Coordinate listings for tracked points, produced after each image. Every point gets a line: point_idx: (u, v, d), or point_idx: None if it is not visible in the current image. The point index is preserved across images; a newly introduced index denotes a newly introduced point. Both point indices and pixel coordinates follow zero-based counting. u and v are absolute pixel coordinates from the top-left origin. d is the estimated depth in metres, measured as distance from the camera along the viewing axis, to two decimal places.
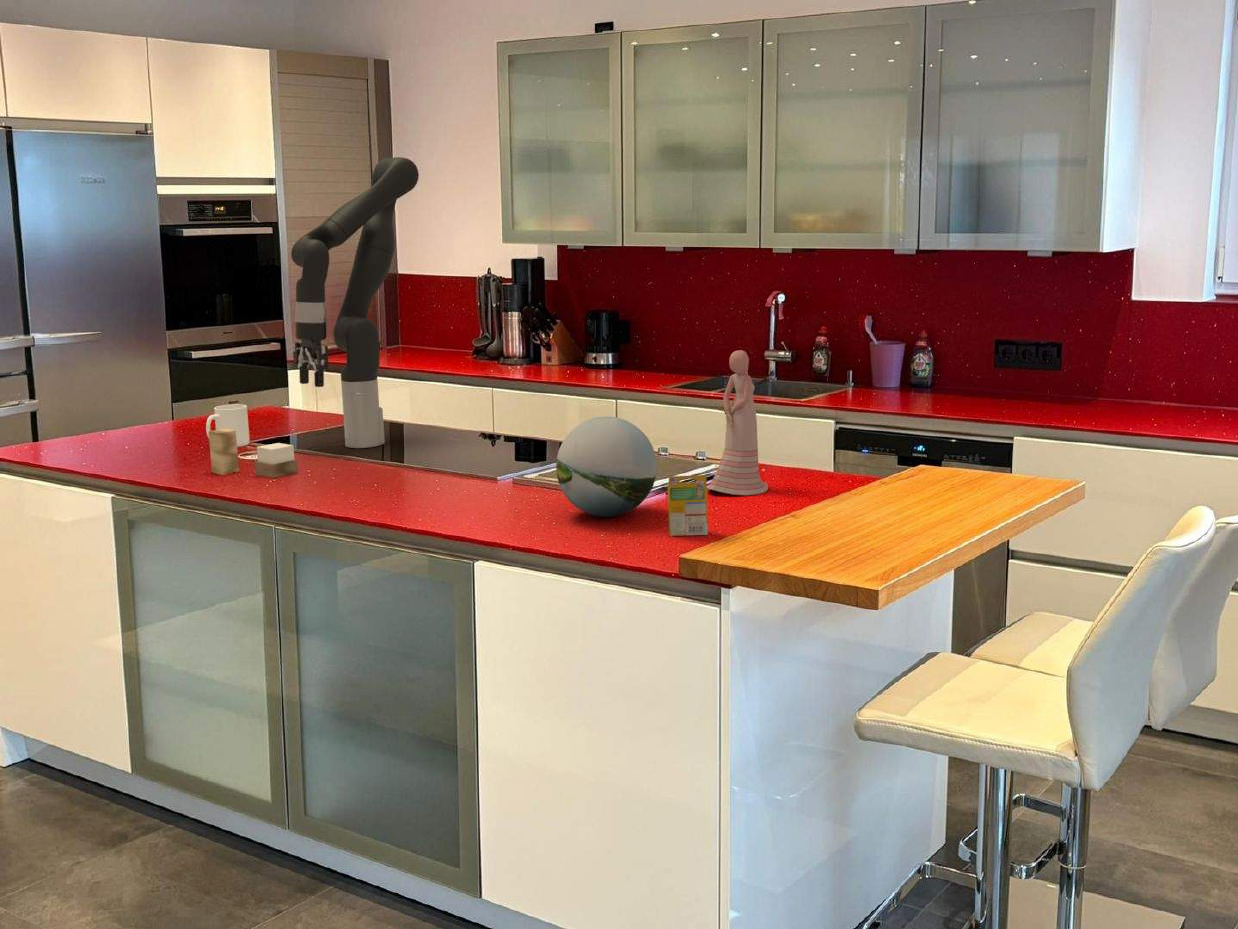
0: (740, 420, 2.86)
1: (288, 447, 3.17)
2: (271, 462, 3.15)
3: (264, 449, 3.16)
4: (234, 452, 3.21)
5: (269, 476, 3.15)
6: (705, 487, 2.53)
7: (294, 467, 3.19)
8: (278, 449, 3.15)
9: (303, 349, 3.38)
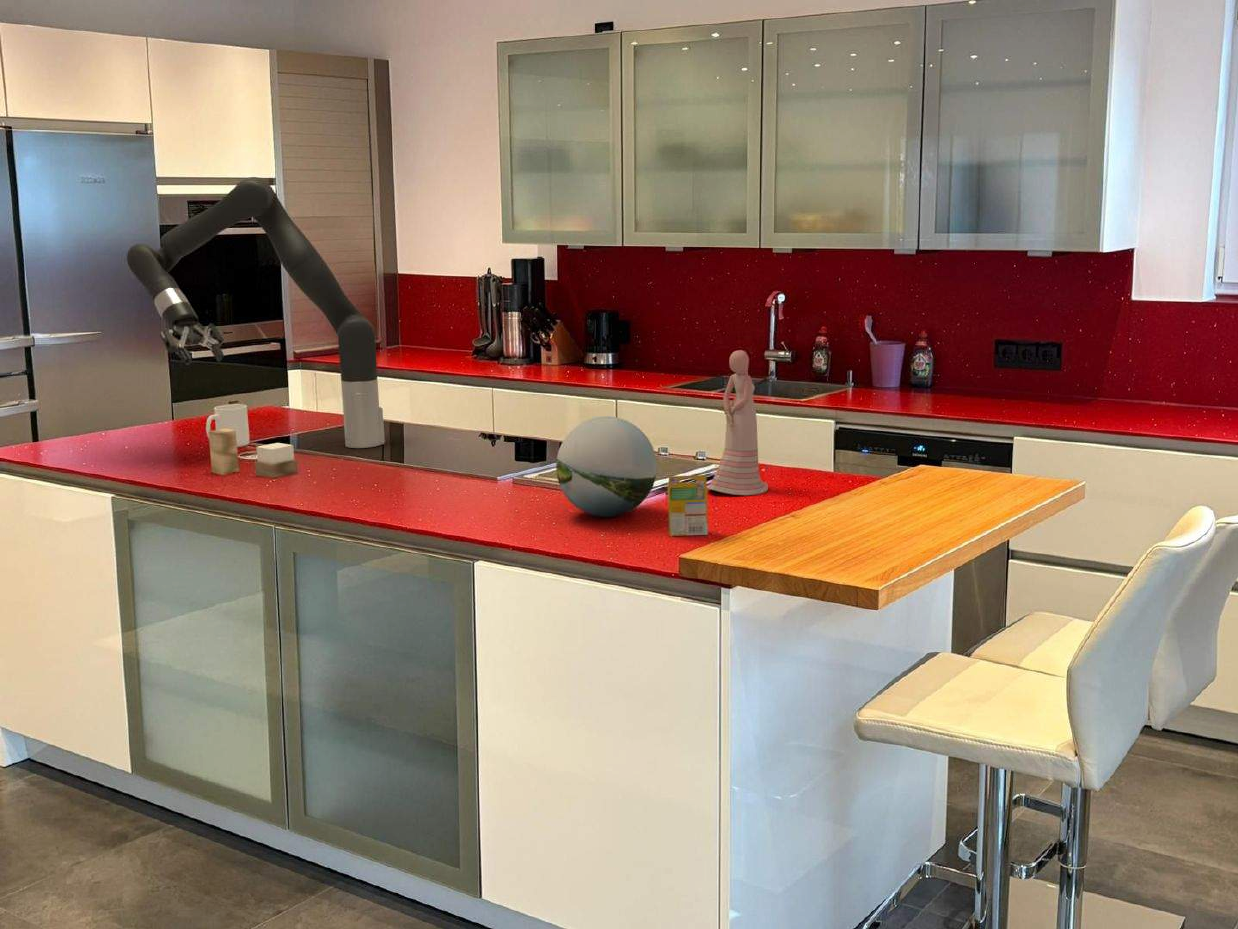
0: (740, 420, 2.86)
1: (288, 447, 3.17)
2: (271, 462, 3.15)
3: (264, 449, 3.16)
4: (234, 452, 3.21)
5: (269, 476, 3.15)
6: (705, 487, 2.53)
7: (294, 467, 3.19)
8: (278, 449, 3.15)
9: None
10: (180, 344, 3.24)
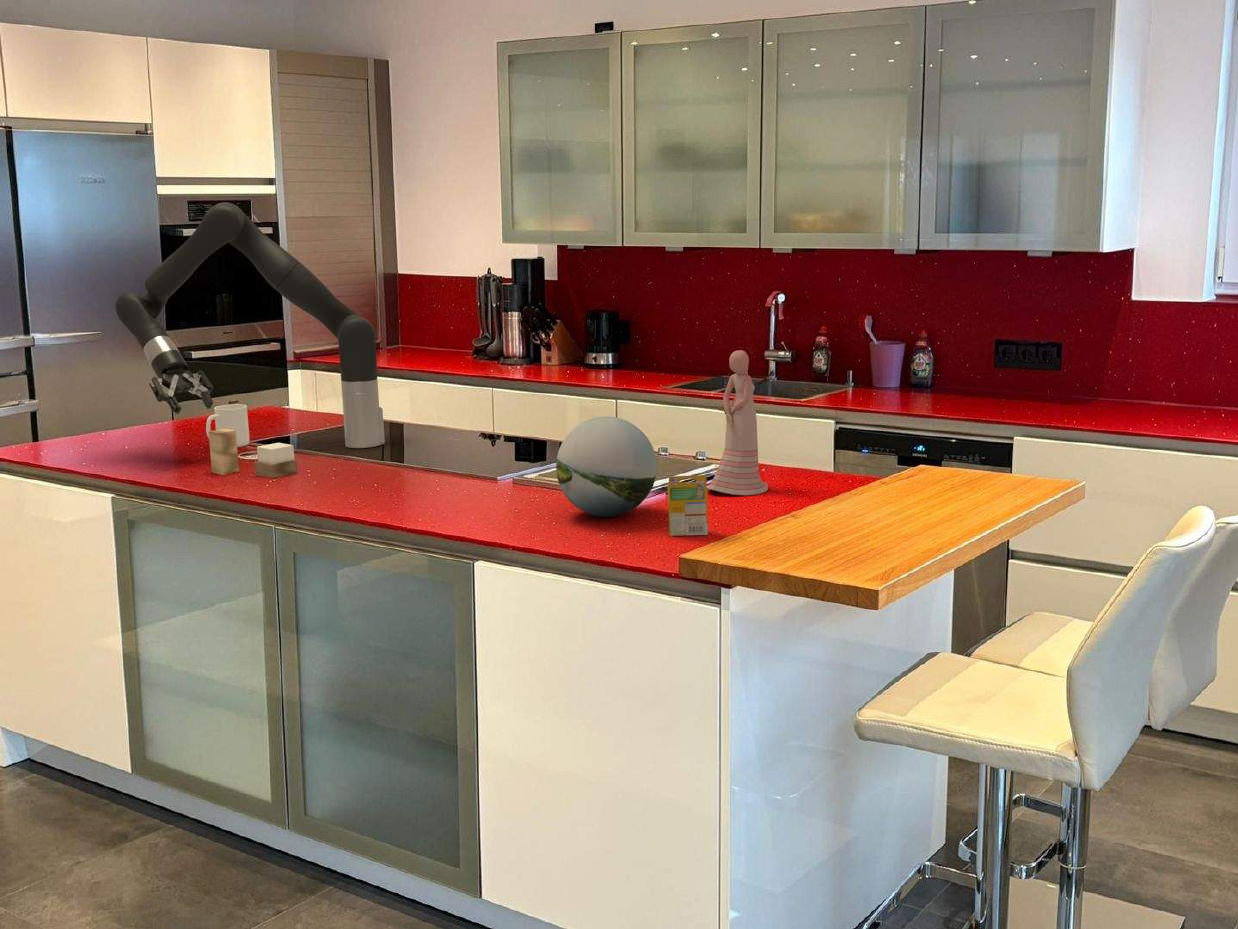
0: (740, 420, 2.86)
1: (288, 447, 3.17)
2: (271, 462, 3.15)
3: (264, 449, 3.16)
4: (234, 452, 3.21)
5: (269, 476, 3.15)
6: (705, 487, 2.53)
7: (294, 467, 3.19)
8: (278, 449, 3.15)
9: None
10: (169, 393, 3.24)
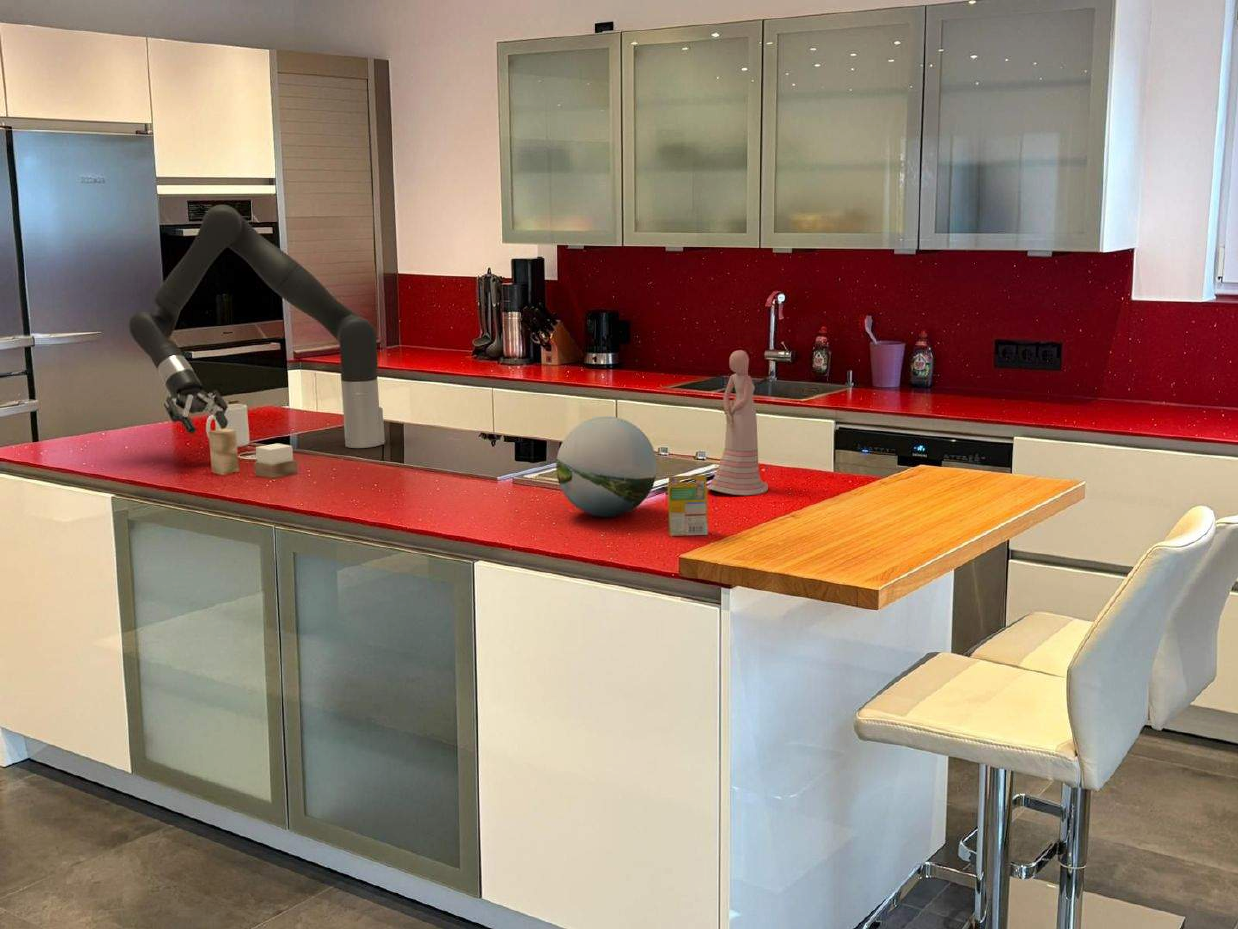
0: (740, 420, 2.86)
1: (287, 447, 3.17)
2: (269, 462, 3.15)
3: (263, 449, 3.16)
4: (234, 452, 3.21)
5: (268, 477, 3.15)
6: (705, 487, 2.53)
7: (294, 468, 3.18)
8: (276, 449, 3.15)
9: None
10: (184, 413, 3.22)
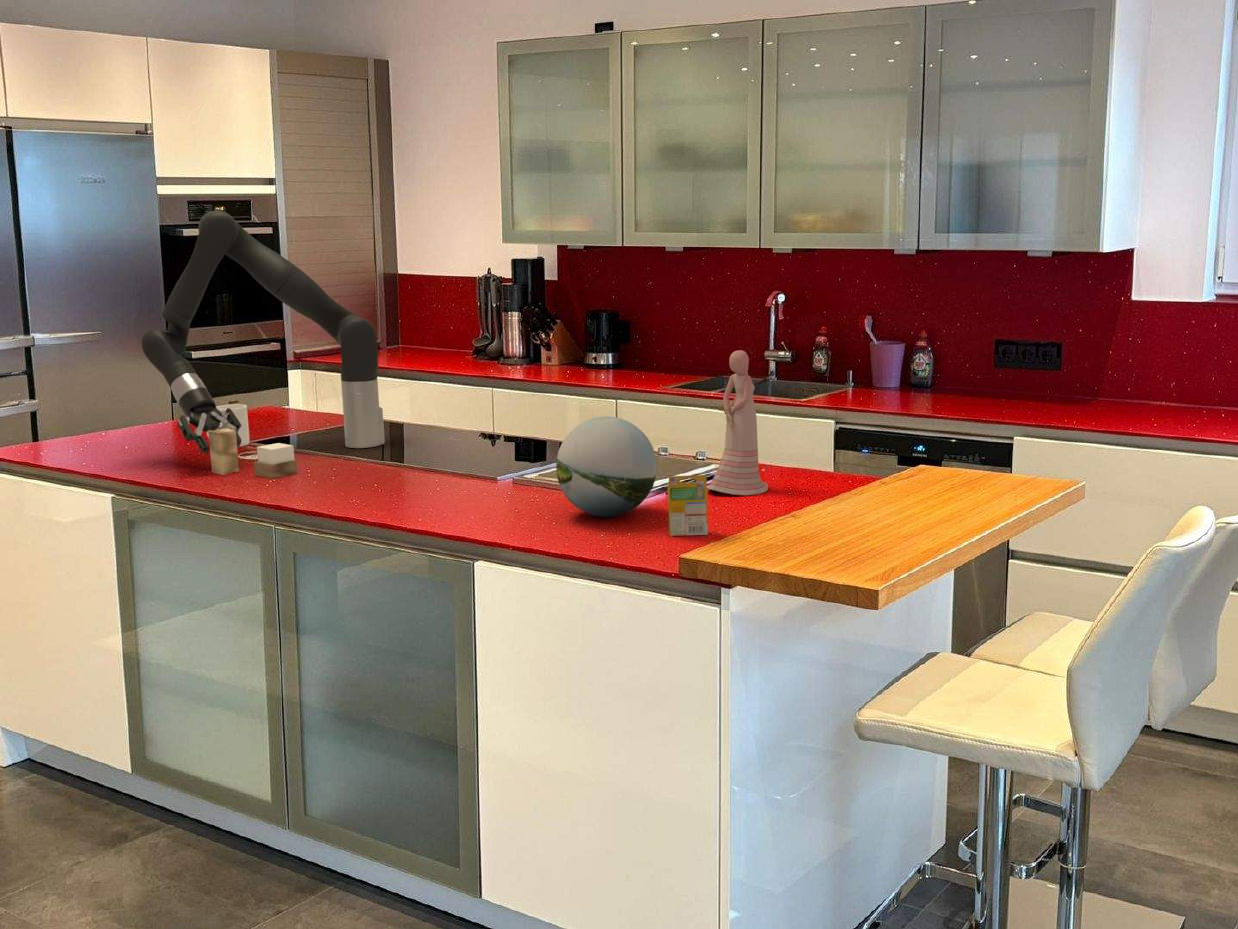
0: (740, 420, 2.86)
1: (288, 447, 3.17)
2: (271, 462, 3.15)
3: (264, 449, 3.16)
4: (234, 452, 3.21)
5: (268, 476, 3.15)
6: (705, 487, 2.53)
7: (293, 467, 3.18)
8: (278, 449, 3.15)
9: None
10: (197, 432, 3.19)
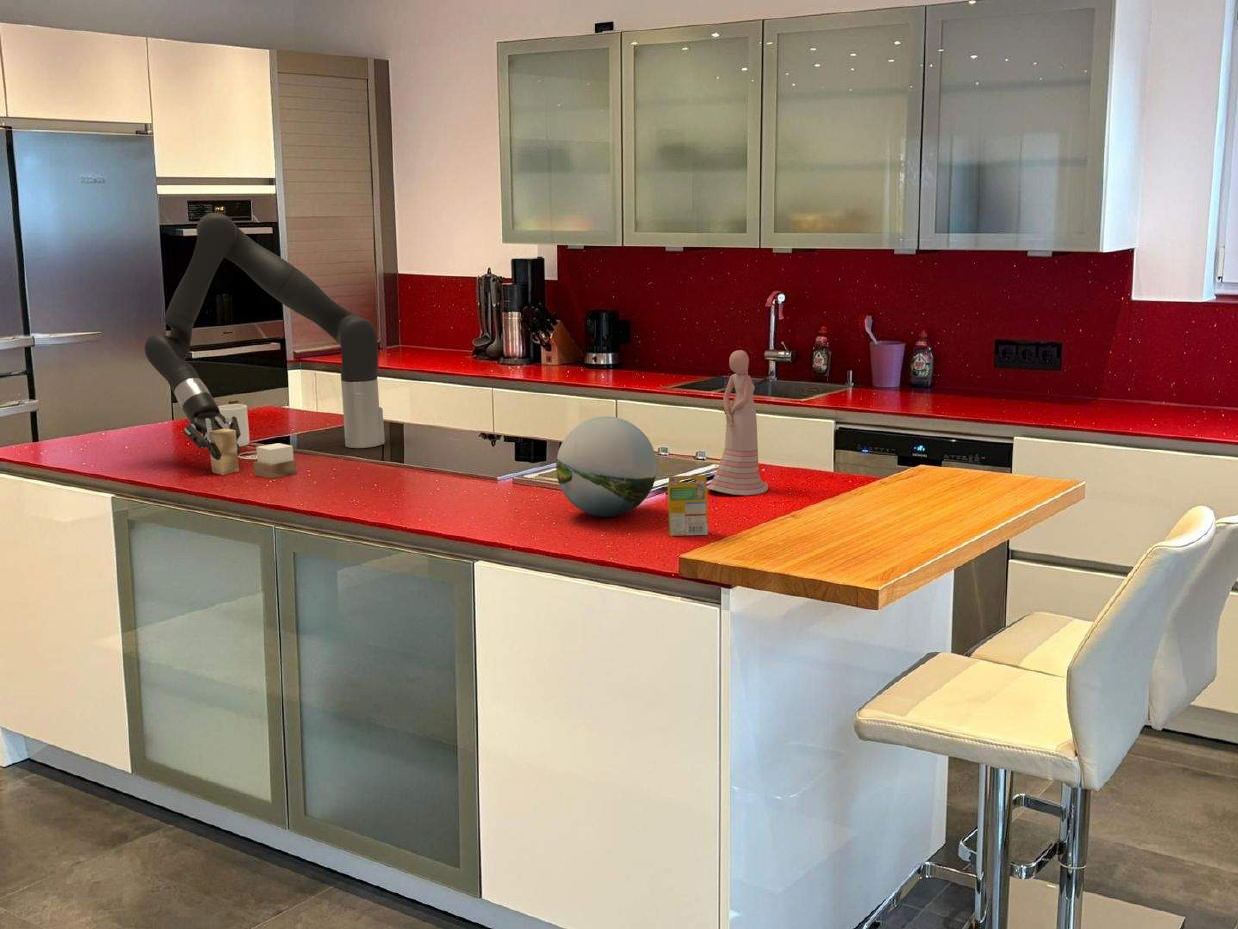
0: (740, 420, 2.86)
1: (287, 447, 3.17)
2: (270, 462, 3.15)
3: (263, 449, 3.16)
4: (234, 452, 3.21)
5: (268, 476, 3.15)
6: (705, 487, 2.53)
7: (293, 467, 3.18)
8: (277, 449, 3.15)
9: None
10: (209, 439, 3.19)
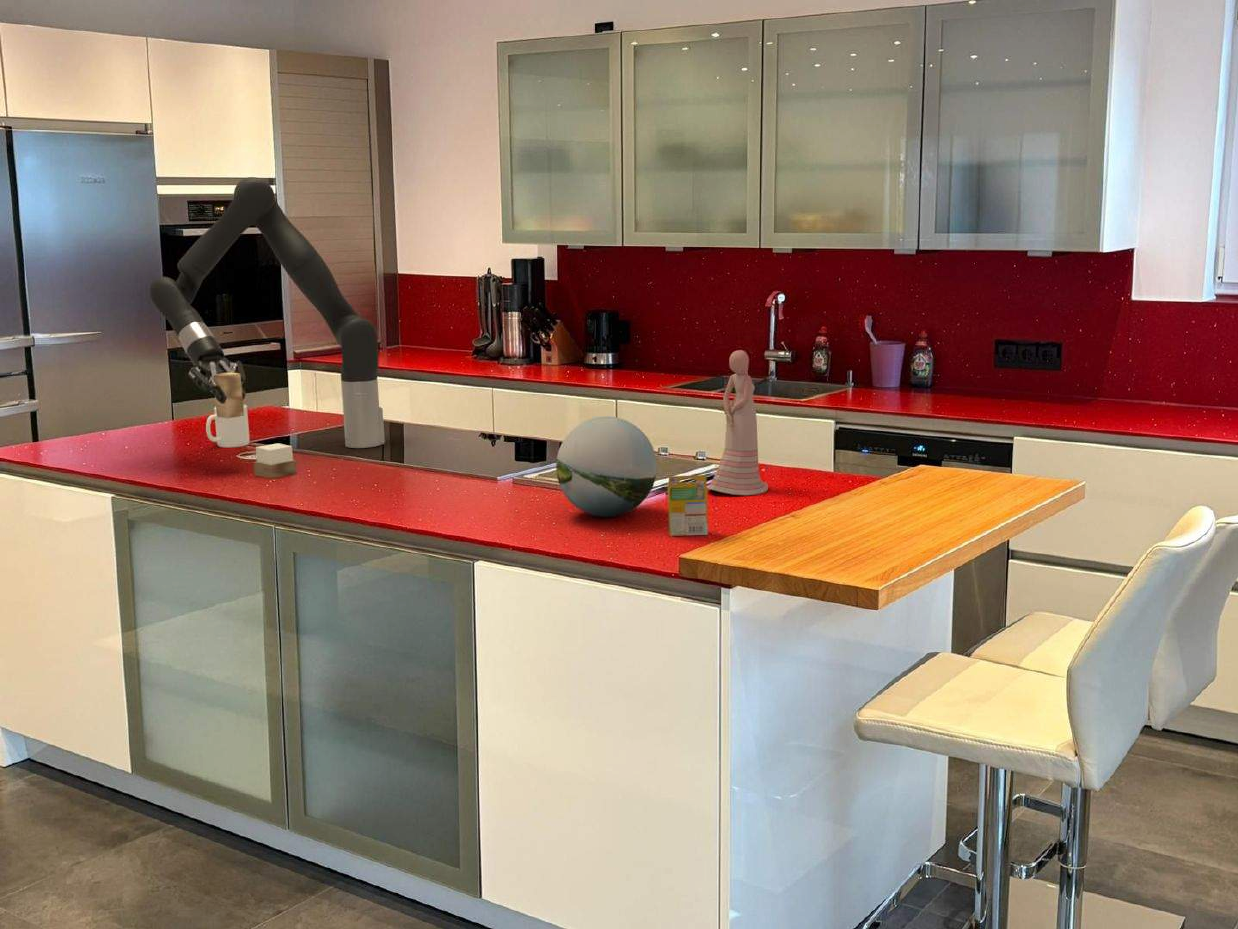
0: (740, 420, 2.86)
1: (286, 448, 3.16)
2: (269, 463, 3.14)
3: (262, 450, 3.15)
4: (239, 395, 3.18)
5: (268, 476, 3.15)
6: (705, 487, 2.53)
7: (293, 467, 3.18)
8: (276, 450, 3.14)
9: None
10: (214, 382, 3.16)
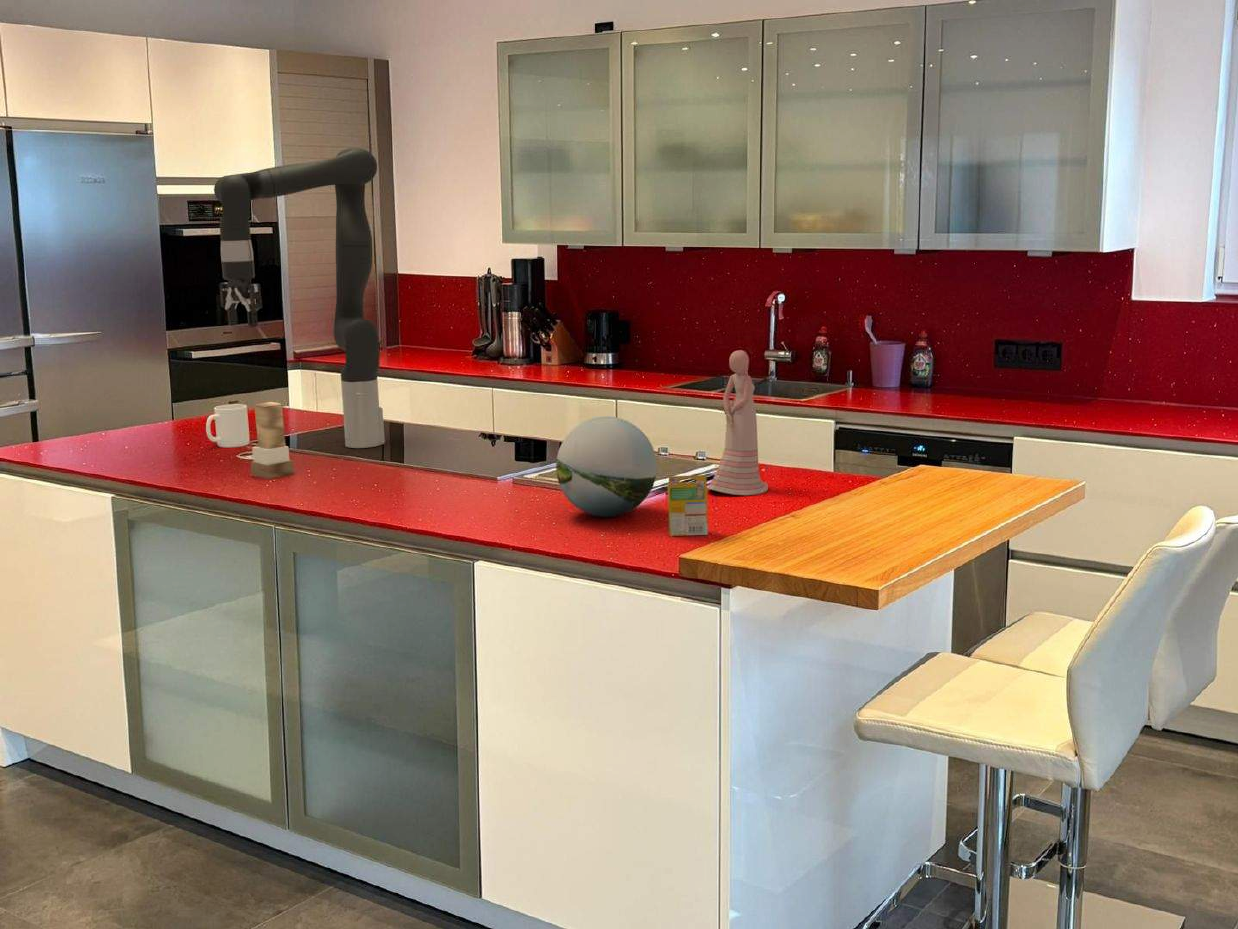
0: (740, 420, 2.86)
1: (283, 448, 3.16)
2: (265, 463, 3.14)
3: (259, 450, 3.15)
4: (280, 426, 3.16)
5: (265, 477, 3.14)
6: (705, 487, 2.53)
7: (290, 467, 3.18)
8: (272, 450, 3.14)
9: (232, 289, 3.29)
10: None
